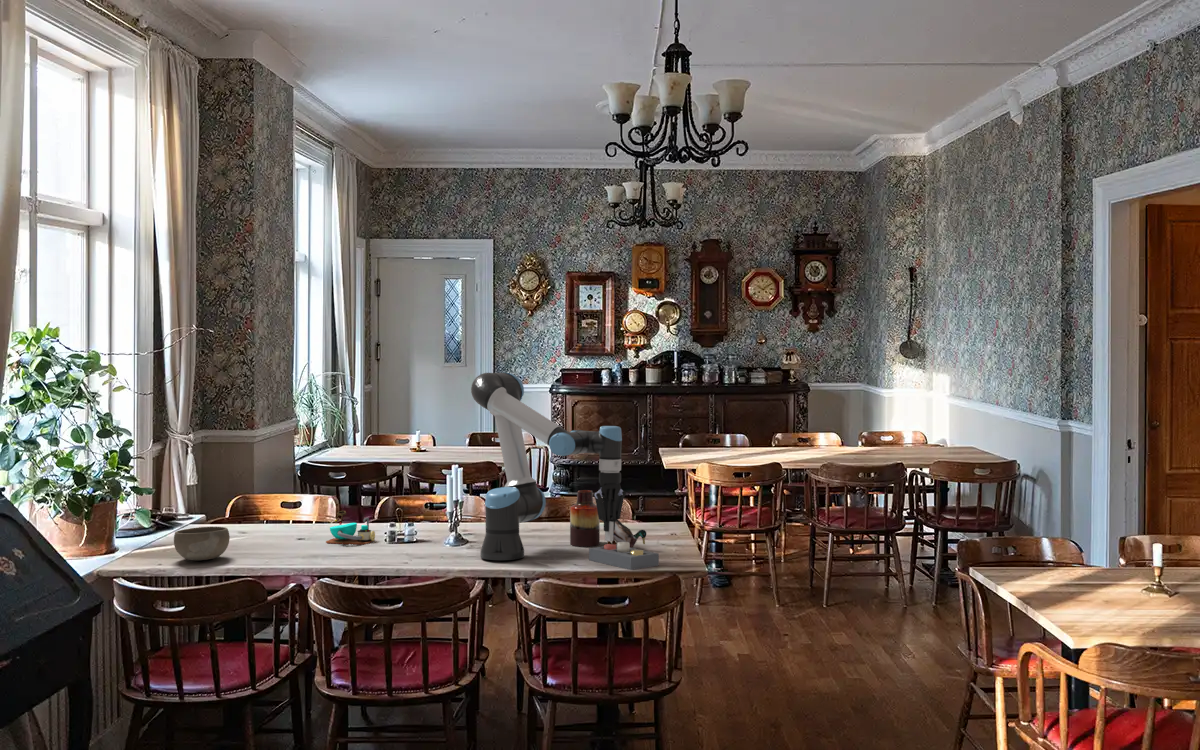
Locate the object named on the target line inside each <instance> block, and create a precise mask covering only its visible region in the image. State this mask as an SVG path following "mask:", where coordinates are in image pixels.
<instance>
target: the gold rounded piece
mask: <svg viewBox="0 0 1200 750" xmlns="http://www.w3.org/2000/svg"><path fill="white" fill-rule="evenodd" d="M643 550H644V549H640V550H631V555H635V556H638V555H643Z"/></svg>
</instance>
